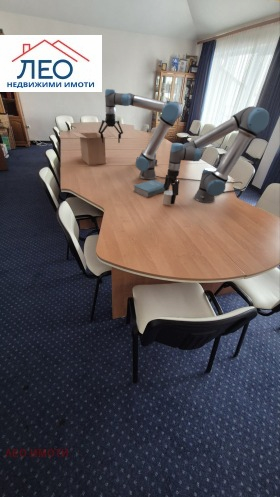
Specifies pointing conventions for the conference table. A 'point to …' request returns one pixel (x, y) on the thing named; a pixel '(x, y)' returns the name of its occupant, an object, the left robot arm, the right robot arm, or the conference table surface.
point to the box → (92, 146)
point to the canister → (167, 197)
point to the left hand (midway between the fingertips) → (110, 142)
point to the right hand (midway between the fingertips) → (169, 200)
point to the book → (149, 188)
